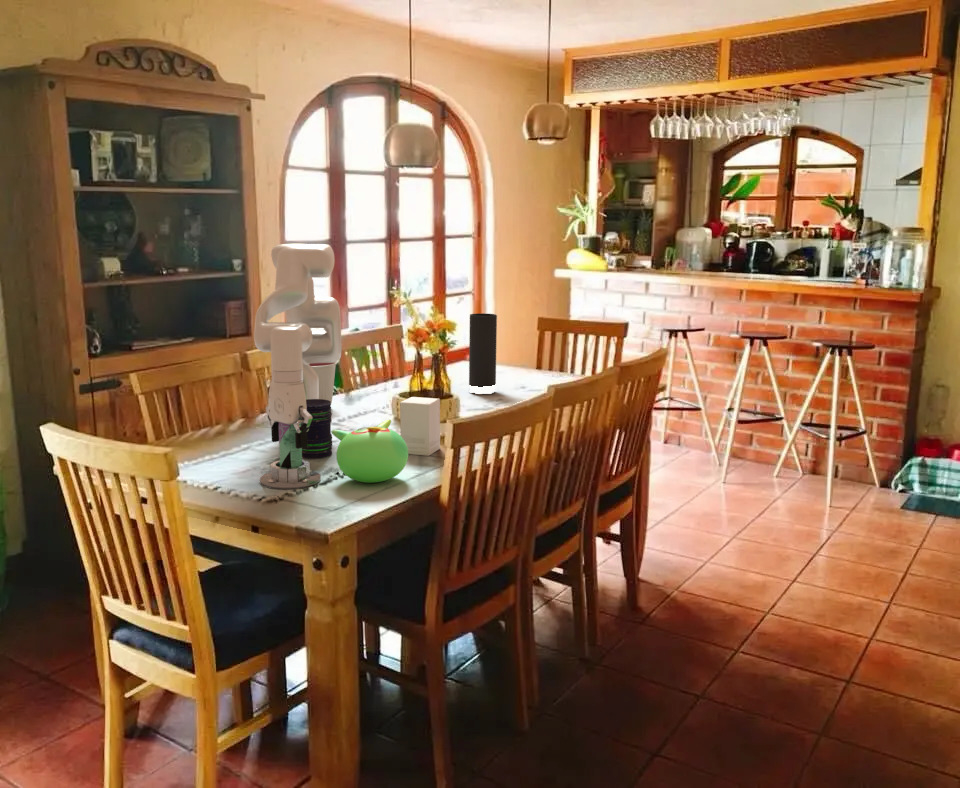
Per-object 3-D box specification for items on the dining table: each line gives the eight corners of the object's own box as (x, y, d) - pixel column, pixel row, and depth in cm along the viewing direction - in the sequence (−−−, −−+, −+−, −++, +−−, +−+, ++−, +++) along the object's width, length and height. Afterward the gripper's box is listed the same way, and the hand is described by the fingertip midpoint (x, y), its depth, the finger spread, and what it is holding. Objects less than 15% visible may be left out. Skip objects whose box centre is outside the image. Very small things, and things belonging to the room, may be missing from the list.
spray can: (294, 472, 224) (292, 396, 221) (306, 477, 221) (304, 399, 217) (276, 476, 221) (273, 399, 217) (287, 481, 217) (285, 402, 213)
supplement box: (441, 448, 253) (441, 398, 250) (429, 456, 245) (429, 404, 242) (412, 445, 256) (412, 395, 253) (399, 453, 248) (399, 401, 245)
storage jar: (302, 461, 239) (300, 407, 236) (292, 452, 247) (290, 400, 244) (337, 456, 243) (336, 404, 240) (326, 448, 252) (325, 397, 249)
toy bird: (346, 493, 210) (345, 434, 208) (329, 475, 226) (327, 419, 223) (416, 485, 218) (416, 428, 215) (395, 468, 233) (395, 414, 230)
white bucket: (346, 410, 302) (345, 350, 298) (297, 416, 292) (295, 354, 287) (325, 401, 316) (323, 344, 312) (277, 407, 306) (275, 347, 302)
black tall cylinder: (467, 390, 342) (468, 313, 336) (493, 389, 343) (494, 313, 337) (470, 395, 331) (471, 316, 326) (496, 394, 333) (498, 316, 327)
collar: (295, 468, 231) (295, 453, 230) (333, 479, 221) (332, 463, 221) (247, 480, 220) (247, 464, 219) (284, 493, 210) (284, 476, 209)
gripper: (253, 374, 218) (256, 441, 221) (297, 383, 207) (299, 453, 210) (278, 370, 224) (280, 436, 227) (322, 379, 213) (323, 447, 216)
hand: (289, 444), depth 219 cm, fingers open, 9 cm apart
